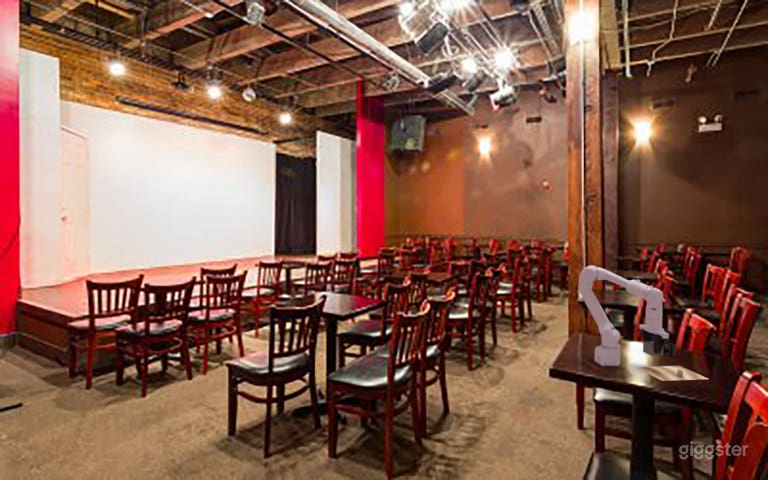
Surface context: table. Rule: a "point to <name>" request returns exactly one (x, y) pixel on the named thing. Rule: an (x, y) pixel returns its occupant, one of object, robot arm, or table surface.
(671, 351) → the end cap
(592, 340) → the table surface
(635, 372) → the table surface
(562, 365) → the table surface
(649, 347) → the grey cube
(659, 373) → the board
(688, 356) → the table surface
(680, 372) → the post
